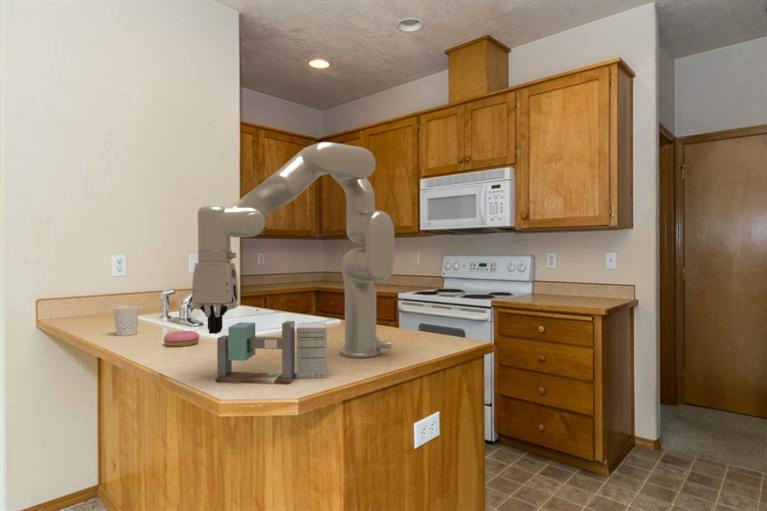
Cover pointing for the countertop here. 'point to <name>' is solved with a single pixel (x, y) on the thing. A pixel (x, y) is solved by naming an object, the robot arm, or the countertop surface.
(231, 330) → the teal sliding block
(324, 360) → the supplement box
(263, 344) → the rail
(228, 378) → the board
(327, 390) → the countertop surface
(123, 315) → the white cup
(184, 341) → the doughnut
